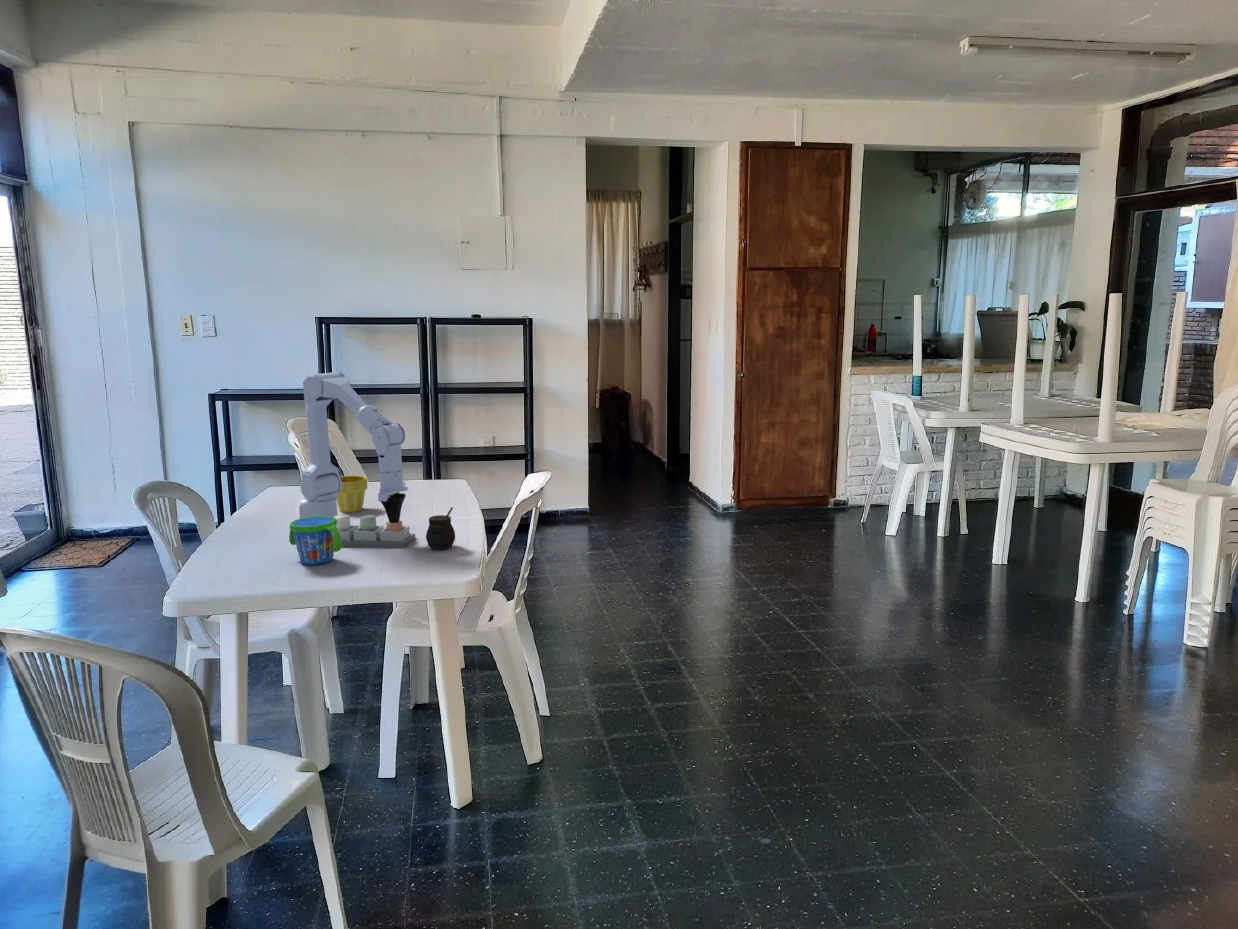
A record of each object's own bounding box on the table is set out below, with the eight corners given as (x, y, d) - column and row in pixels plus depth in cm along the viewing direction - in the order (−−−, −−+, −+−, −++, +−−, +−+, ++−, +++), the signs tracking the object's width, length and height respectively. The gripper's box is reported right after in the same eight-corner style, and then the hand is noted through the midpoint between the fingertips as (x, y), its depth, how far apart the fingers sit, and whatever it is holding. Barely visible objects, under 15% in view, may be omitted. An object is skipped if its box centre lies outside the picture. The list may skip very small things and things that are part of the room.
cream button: (332, 533, 216) (331, 518, 216) (338, 529, 220) (337, 514, 219) (347, 533, 216) (346, 518, 215) (353, 529, 220) (352, 515, 219)
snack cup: (278, 561, 202) (274, 521, 200) (316, 551, 211) (312, 512, 209) (317, 572, 193) (314, 530, 191) (355, 561, 202) (352, 520, 200)
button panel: (322, 546, 214) (321, 532, 214) (336, 537, 223) (335, 523, 223) (403, 547, 213) (402, 533, 212) (415, 538, 221) (414, 524, 221)
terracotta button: (384, 538, 215) (383, 523, 214) (390, 534, 219) (389, 520, 218) (400, 539, 215) (399, 524, 214) (405, 535, 219) (404, 520, 218)
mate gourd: (420, 549, 211) (418, 510, 209) (442, 542, 217) (440, 505, 215) (440, 553, 207) (438, 514, 205) (462, 546, 213) (460, 508, 212)
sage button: (358, 533, 216) (357, 518, 215) (364, 529, 220) (363, 515, 219) (373, 534, 215) (372, 519, 215) (379, 530, 219) (378, 515, 218)
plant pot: (362, 514, 249) (360, 481, 247) (328, 514, 249) (325, 482, 247) (373, 506, 259) (371, 475, 257) (340, 506, 259) (338, 475, 257)
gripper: (396, 476, 206) (399, 529, 209) (415, 465, 221) (418, 515, 223) (368, 476, 207) (372, 529, 209) (389, 465, 221) (392, 515, 224)
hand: (394, 522), depth 216 cm, fingers closed, pressing on terracotta button
